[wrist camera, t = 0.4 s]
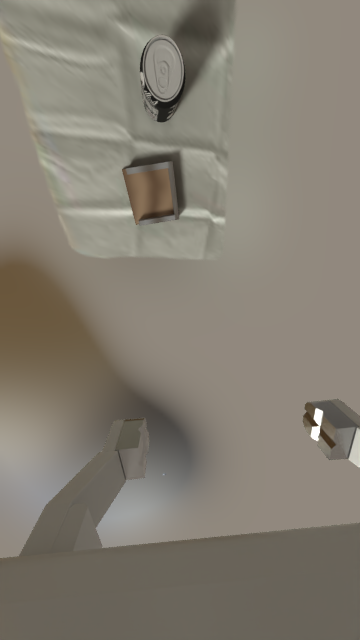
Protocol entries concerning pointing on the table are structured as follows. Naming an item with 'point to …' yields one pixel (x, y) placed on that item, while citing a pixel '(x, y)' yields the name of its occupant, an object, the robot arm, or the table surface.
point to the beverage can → (161, 77)
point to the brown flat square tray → (152, 193)
